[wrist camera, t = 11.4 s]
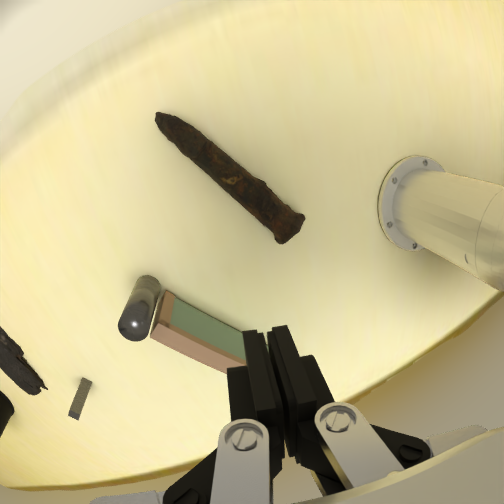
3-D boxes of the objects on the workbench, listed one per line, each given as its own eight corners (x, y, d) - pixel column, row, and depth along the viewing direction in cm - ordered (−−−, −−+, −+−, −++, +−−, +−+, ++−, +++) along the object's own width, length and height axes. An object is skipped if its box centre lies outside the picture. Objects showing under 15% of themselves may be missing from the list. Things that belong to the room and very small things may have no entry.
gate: (166, 290, 35) (158, 323, 28) (291, 355, 41) (306, 390, 34) (158, 303, 35) (149, 337, 29) (282, 365, 41) (295, 400, 34)
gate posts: (165, 284, 35) (154, 325, 27) (95, 392, 39) (81, 435, 31) (143, 270, 34) (126, 308, 26) (78, 382, 38) (62, 424, 30)
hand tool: (300, 214, 35) (313, 223, 31) (275, 239, 35) (285, 252, 31) (177, 96, 29) (173, 88, 25) (151, 123, 29) (142, 119, 25)
